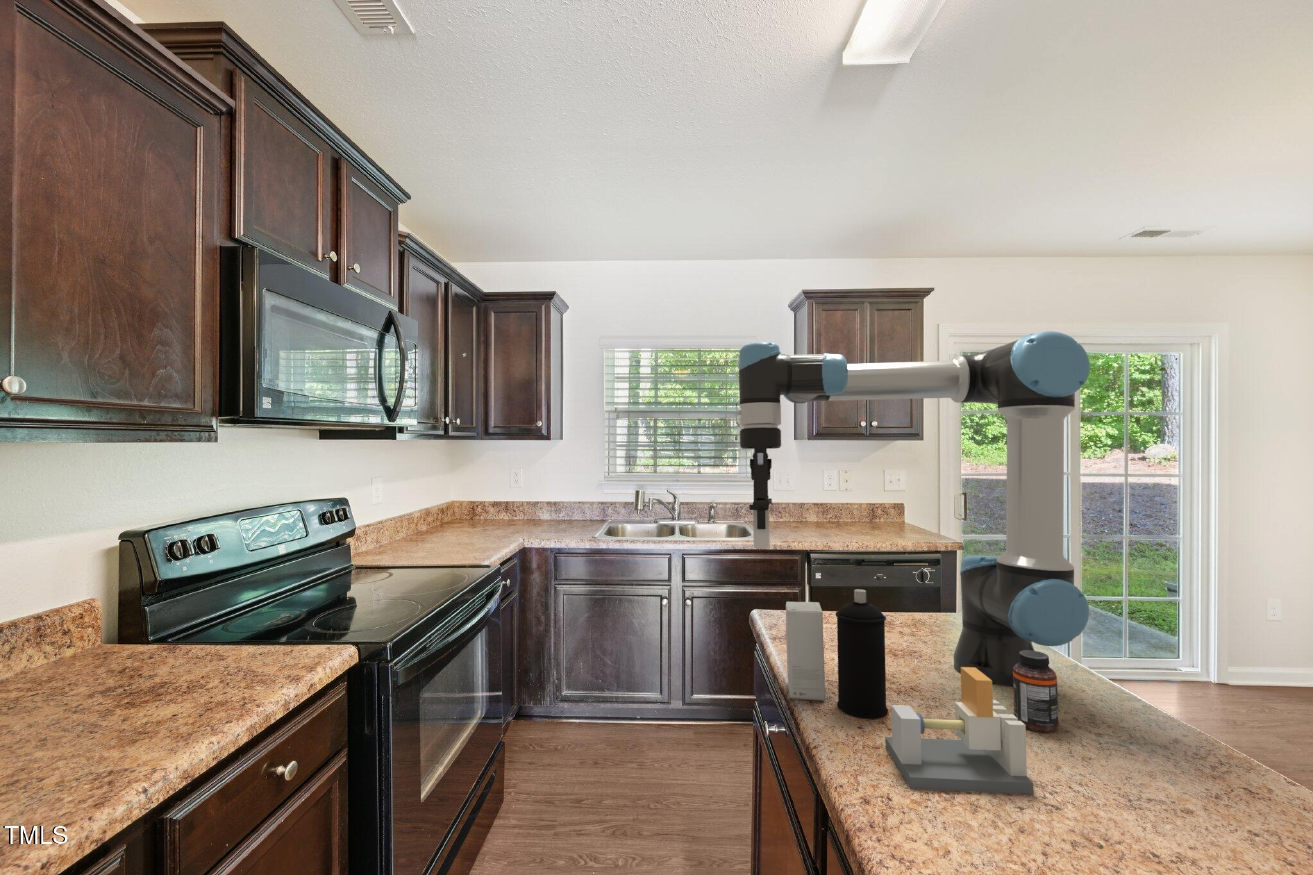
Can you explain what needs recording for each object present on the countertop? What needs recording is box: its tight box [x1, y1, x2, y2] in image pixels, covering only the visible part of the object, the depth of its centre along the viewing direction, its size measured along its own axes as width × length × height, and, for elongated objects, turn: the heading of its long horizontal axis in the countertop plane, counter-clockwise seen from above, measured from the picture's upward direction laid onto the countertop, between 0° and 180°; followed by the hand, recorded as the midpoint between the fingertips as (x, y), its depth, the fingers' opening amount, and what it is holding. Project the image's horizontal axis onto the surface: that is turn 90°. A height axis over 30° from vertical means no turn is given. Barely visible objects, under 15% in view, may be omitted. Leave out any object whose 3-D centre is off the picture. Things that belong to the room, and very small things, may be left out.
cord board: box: [884, 699, 1034, 796], centre depth 80 cm, size 15×11×8 cm
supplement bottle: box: [1012, 650, 1060, 734], centre depth 93 cm, size 6×6×11 cm
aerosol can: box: [835, 588, 889, 720], centre depth 100 cm, size 8×8×20 cm
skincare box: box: [785, 601, 826, 701], centre depth 107 cm, size 8×7×16 cm
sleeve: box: [954, 667, 1001, 751], centre depth 80 cm, size 4×5×9 cm
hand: (762, 542), depth 107 cm, fingers open, 13 cm apart
